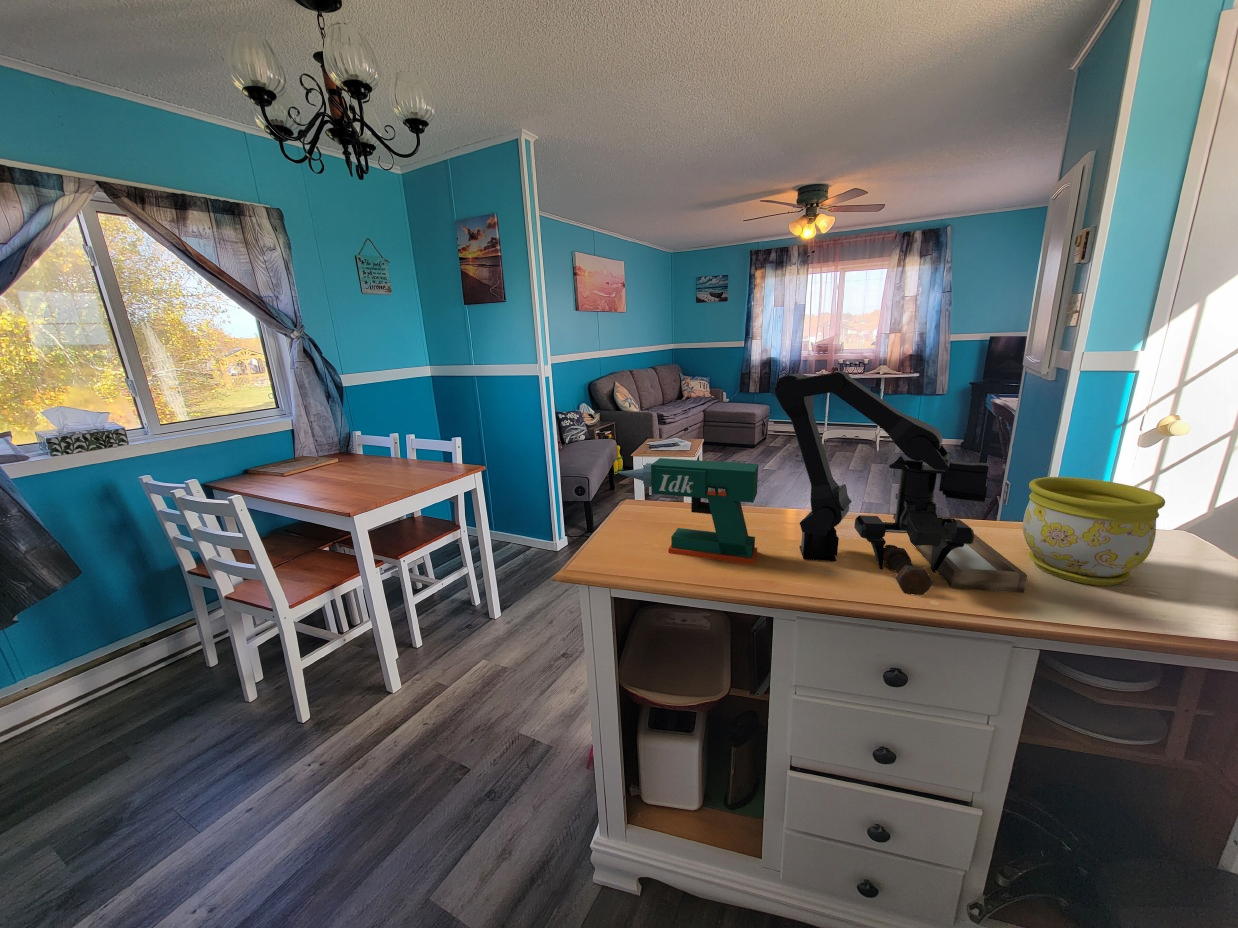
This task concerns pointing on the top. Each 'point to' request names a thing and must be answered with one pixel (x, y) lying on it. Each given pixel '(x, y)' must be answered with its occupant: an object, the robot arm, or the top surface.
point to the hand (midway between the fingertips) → (906, 570)
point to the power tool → (707, 504)
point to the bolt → (907, 571)
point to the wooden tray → (978, 568)
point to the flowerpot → (1089, 528)
